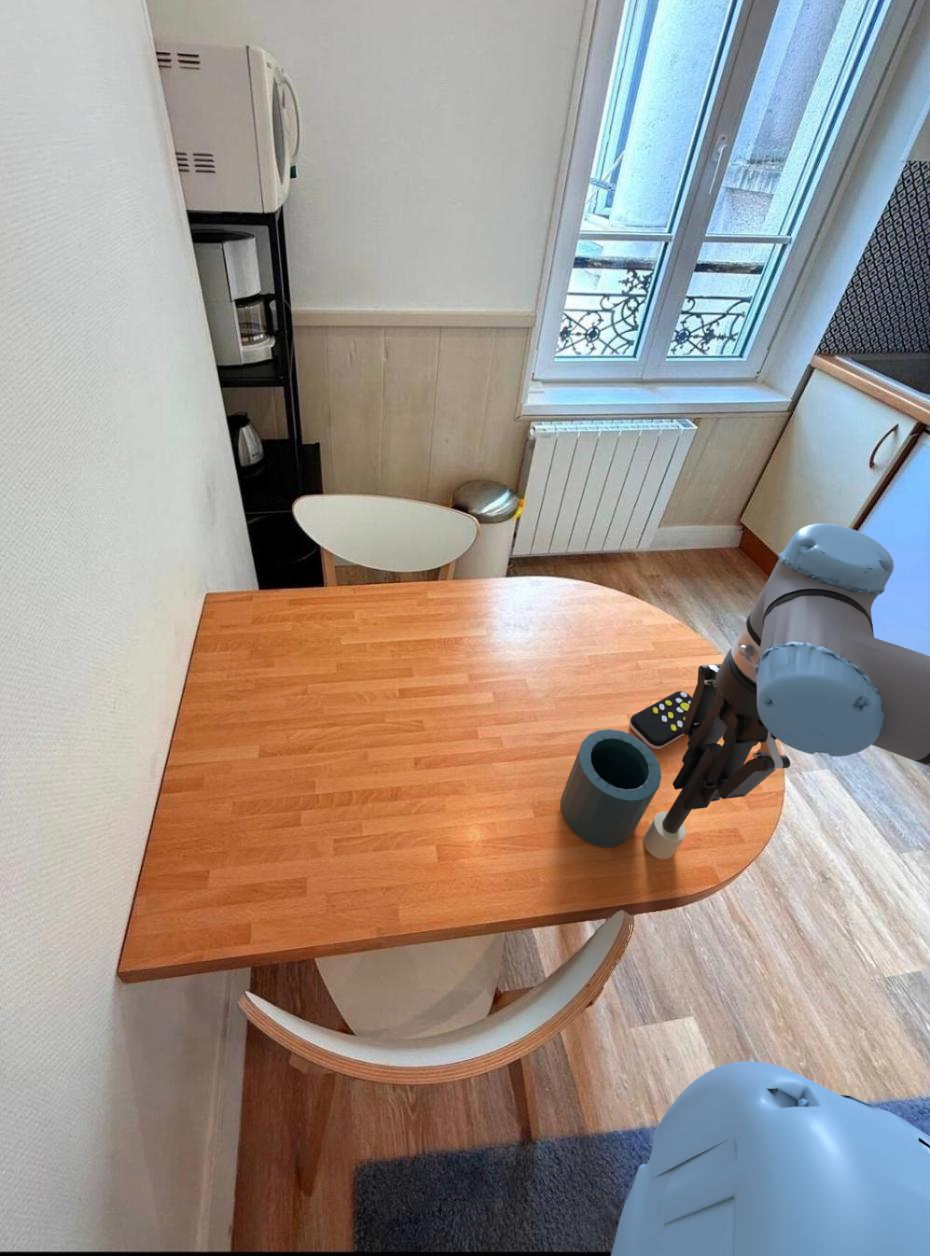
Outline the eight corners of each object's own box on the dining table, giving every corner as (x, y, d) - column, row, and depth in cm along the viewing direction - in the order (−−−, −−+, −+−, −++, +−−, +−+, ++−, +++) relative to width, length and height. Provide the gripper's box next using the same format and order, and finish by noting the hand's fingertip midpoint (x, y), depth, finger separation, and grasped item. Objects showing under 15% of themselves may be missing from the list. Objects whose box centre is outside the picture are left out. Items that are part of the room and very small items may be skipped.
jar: (647, 843, 82) (675, 795, 75) (575, 852, 81) (597, 805, 73) (616, 774, 90) (639, 725, 82) (550, 782, 88) (567, 732, 81)
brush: (679, 857, 81) (744, 764, 67) (651, 861, 80) (710, 768, 66) (665, 828, 84) (724, 733, 70) (638, 831, 83) (692, 736, 69)
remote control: (624, 723, 97) (627, 716, 96) (678, 693, 102) (682, 686, 101) (653, 754, 93) (657, 746, 92) (709, 721, 98) (713, 713, 97)
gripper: (695, 615, 65) (634, 745, 79) (781, 736, 53) (691, 861, 68) (759, 611, 66) (687, 739, 80) (858, 728, 54) (752, 853, 69)
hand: (689, 795), depth 74 cm, fingers closed on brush, 2 cm apart
